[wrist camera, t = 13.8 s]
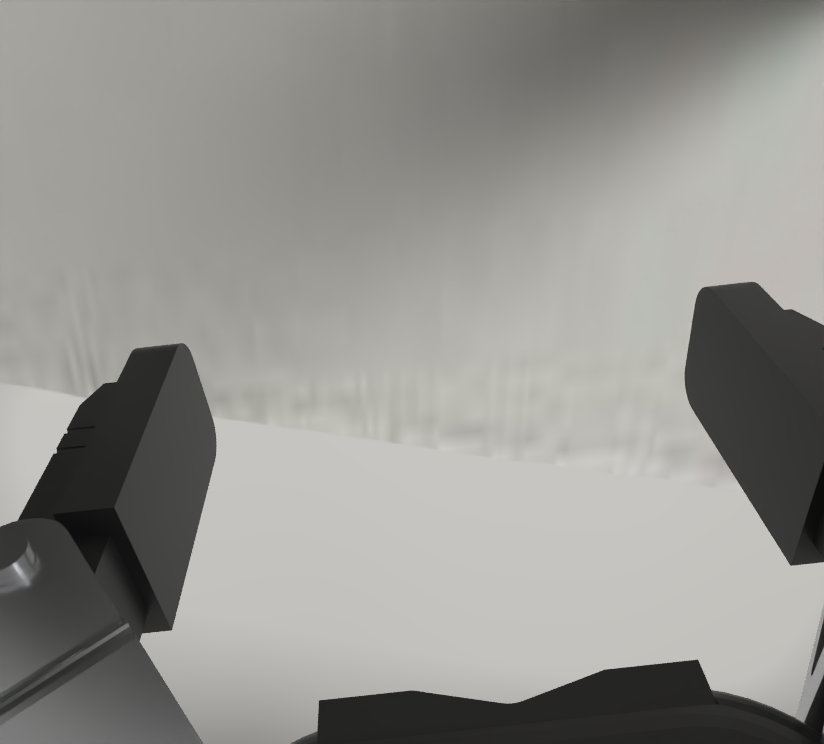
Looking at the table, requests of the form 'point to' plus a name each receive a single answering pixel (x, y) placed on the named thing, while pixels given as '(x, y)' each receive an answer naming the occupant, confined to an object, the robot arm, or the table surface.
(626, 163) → the table surface
